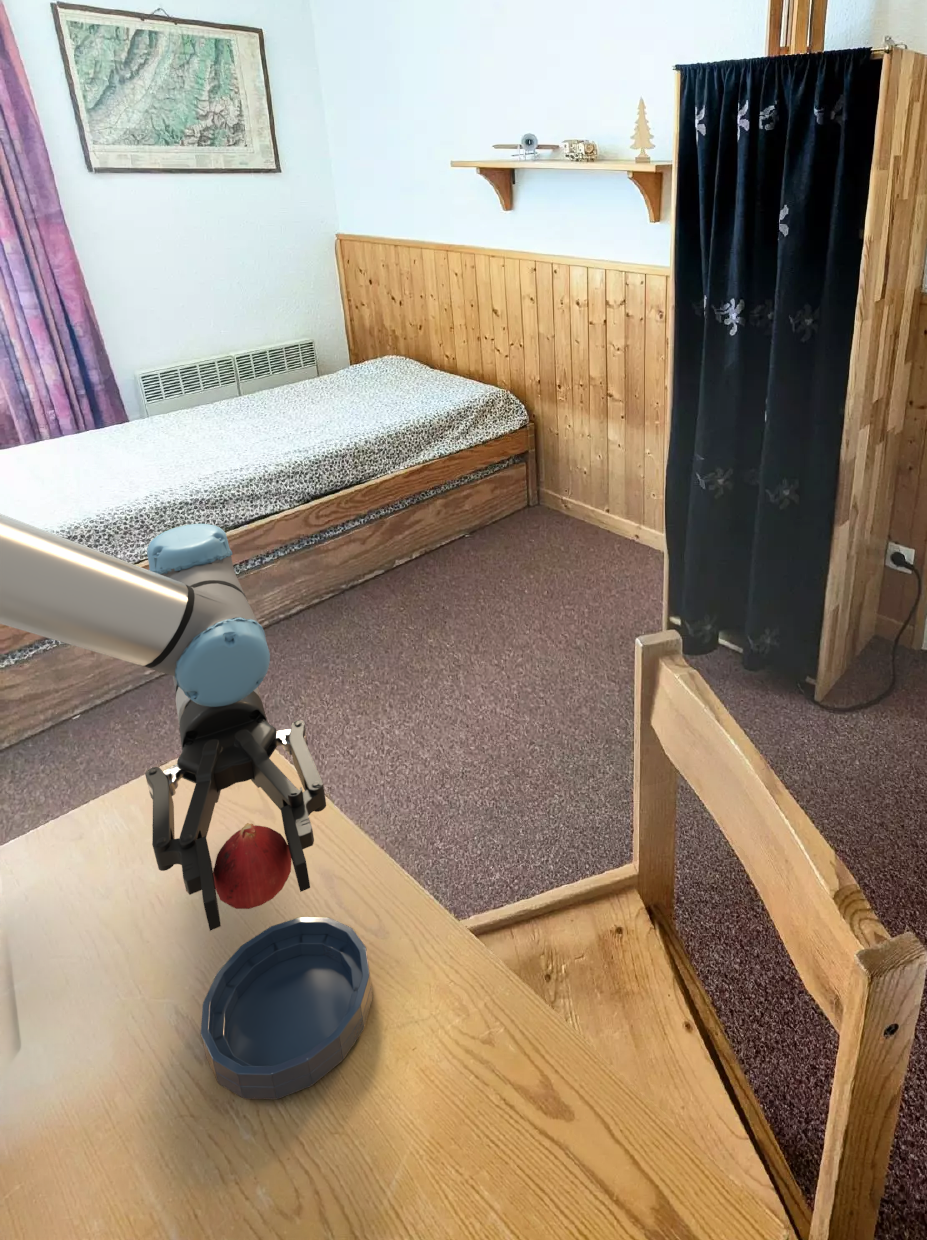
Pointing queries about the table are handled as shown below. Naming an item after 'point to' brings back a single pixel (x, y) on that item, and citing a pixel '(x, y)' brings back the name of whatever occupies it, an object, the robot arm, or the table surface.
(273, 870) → the red oval fruit
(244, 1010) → the bowl
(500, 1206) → the table surface
